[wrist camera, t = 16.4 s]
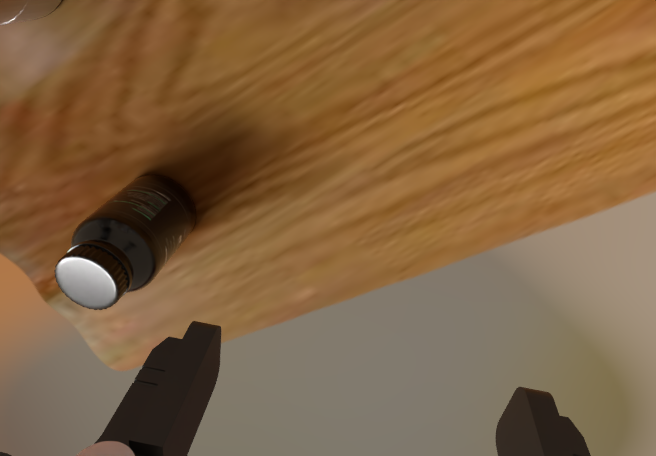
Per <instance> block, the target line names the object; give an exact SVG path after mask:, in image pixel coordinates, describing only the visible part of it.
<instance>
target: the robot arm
mask: <svg viewBox="0 0 656 456" xmlns="http://www.w3.org/2000/svg"><path fill="white" fill-rule="evenodd" d="M61 1H62V0H0V25H5V24H11V23H17V22H23V21H29V20H35V19H39V18H42V17H45V16H47V15H48V14H50V13H51V12H52V11H54V10H55V9H56V7H57V6H58V5H59V4H60V2H61ZM220 348H221V327H220V326H217V325H211V324H206V323H201V322H196V321H193V322H192V323H191V324H190V326H189V328H188V330H187V331H186V333H185V335H184V337H183V339H178V338H173V337H168V338H166V339H165V340H164V341H163V342H161V343H160V344H159V345H158V346H156V347H155V348H154V349H152V351H151V353H150V354H149V356H148V358H147V360H146V361H145V363H144V365H143V368H142V369H141V370H140V371H139V373H138V375H137V377H136V378H135V381H134V383H132V385H131V386H130V388H129V390H128V392H127V393H126V395H125V397H124V398H123V400H122V402H121V403H120V405H119V407H118V408H117V410H116V412H115V414H114V415H113V417H112V419H111V420H110V422H109V424H108V425H107V427H106V429H105V430H104V432H103V434H102V435H101V436H100V438H99V439H98V440H97V441H96V442H95V443H94V444H93V445H91V446H89V447H87V448H85V449H83V450H82V451H81V452H79V453H78V454H77V455H76V456H187V454H188V452H189V449H190V447H191V444H192V442H193V439H194V437H195V435H196V432H197V429H198V427H199V425H200V422H201V420H202V417H203V415H204V412H205V410H206V407H207V405H208V402H209V400H210V397H211V395H212V392H213V390H214V387H215V384H216V381H217V377H218V373H219V367H220ZM496 447H497V452H498V456H591V455H590V453H589V450H588V448H587V445H586V442H585V440H584V437H583V436H582V435H581V433H580V432H579V431H578V429H577V428H576V427H575V425H574V424H573V423H572V421H571V420H570V419H569V418H568V417H563V416H559V413H558V410H557V407H556V405H555V402H554V399H553V397H552V395H551V394H550V393H548V392H544V391H539V390H533V389H529V388H524V387H518V388H517V389H516V390H515V392H514V394H513V396H512V398H511V400H510V401H509V404H508V405H507V407H506V409H505V411H504V412H503V414H502V416H501V418H500V420H499V422H498V425H497V429H496ZM0 456H11V455H9V454H7V453H3V452H0Z"/></svg>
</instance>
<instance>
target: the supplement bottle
mask: <svg viewBox="0 0 656 456" xmlns="http://www.w3.org/2000/svg"><path fill="white" fill-rule="evenodd" d="M195 221H196V210H195V206H194V203H193V201H192V199H191V197H190V196H189V194H188V193H187V192H186V191H185V190H184V188H182V187H181V186H180V185H179V184H178V183H176V182H174V181H173V180H171V179H169V178H166V177H163V176H158V175H146V176H142V177H139V178H137V179H135V180H134V181H132V182H131V183H130V184H128V185H127V186H126V187H125V188H123V189H122V190H121V191H120V192H118V193H117V194H116V195H115V196H113V197H112V198H111V199H110V200H108V201H107V202H106V203H105V204H103V205H102V206H101V207H100V208H98V209H97V210H96V211H95V212H93V213H92V214H91V215H90V216H89V217H87V218H86V219H85V220H84V221H83V222H81V223H80V224H79V225H78V227H77V228H76V230H75V231H74V234H73V237H72V241H71V248H70V249H69V250H68V252H67V253H66V255H64V256H63V257H62V258H61V259H60V260H59V261H58V264H57V265H56V269H55V277H56V282H57V283H58V286H59V287H60V288H61V290H62V292H63V293H65V295H66V296H67V297H69V298H70V299H71V300H72V301H74V302H75V303H77V304H79V305H81V306H83V307H87V308H89V309H94V310H97V309H99V310H102V309H107V308H108V307H111V306H113V304H115V303H116V302H117V301H118V300H119V299H120V298H121V297H122V296H123V295H124V294H125V293H127V292H133V291H137V290H140V289H142V288H144V287H145V286H147V285H148V284H149V283H150V282H151V281H152V280H153V279H154V278H155V277H156V275H157V274H158V273H159V272H160V270H161V269H162V268H163V267H164V265H165V264H166V263H167V262H168V260H169V259H170V258H171V257H172V255H173V254H174V253H175V252H176V250H177V249H178V248H179V247H180V245H181V244H182V243H183V242H184V240H185V239H186V238H187V237H188V235H189V234H190V233H191V231H192V229H193V228H194V225H195Z"/></svg>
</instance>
